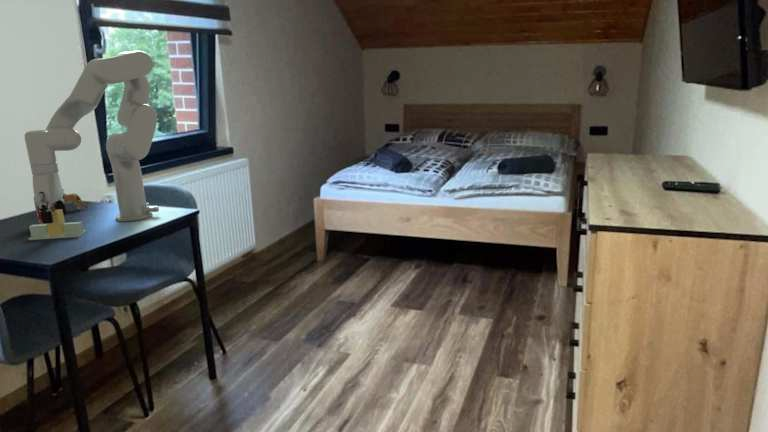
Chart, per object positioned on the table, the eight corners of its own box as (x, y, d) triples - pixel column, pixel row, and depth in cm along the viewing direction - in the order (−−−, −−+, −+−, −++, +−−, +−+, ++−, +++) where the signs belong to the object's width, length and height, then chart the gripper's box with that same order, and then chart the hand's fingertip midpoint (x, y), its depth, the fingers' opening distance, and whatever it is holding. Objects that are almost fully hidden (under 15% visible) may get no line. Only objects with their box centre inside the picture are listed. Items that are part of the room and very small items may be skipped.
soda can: (51, 226, 201) (44, 194, 198) (34, 226, 202) (27, 194, 199) (65, 221, 207) (59, 189, 204) (49, 221, 209) (42, 189, 206)
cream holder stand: (86, 231, 193) (84, 220, 192) (79, 236, 187) (76, 225, 186) (37, 234, 192) (35, 223, 190) (28, 240, 186) (26, 228, 185)
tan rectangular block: (54, 232, 191) (48, 205, 188) (66, 231, 191) (61, 204, 189) (49, 236, 187) (43, 208, 185) (61, 235, 188) (56, 207, 185)
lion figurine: (47, 212, 222) (42, 190, 219) (53, 209, 227) (49, 187, 224) (86, 210, 223) (82, 188, 220) (91, 207, 228) (87, 185, 226)
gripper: (45, 164, 191) (54, 213, 196) (18, 174, 175) (30, 227, 179) (68, 163, 192) (77, 211, 197) (44, 173, 175) (54, 225, 180)
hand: (54, 219), depth 188 cm, fingers open, 9 cm apart
